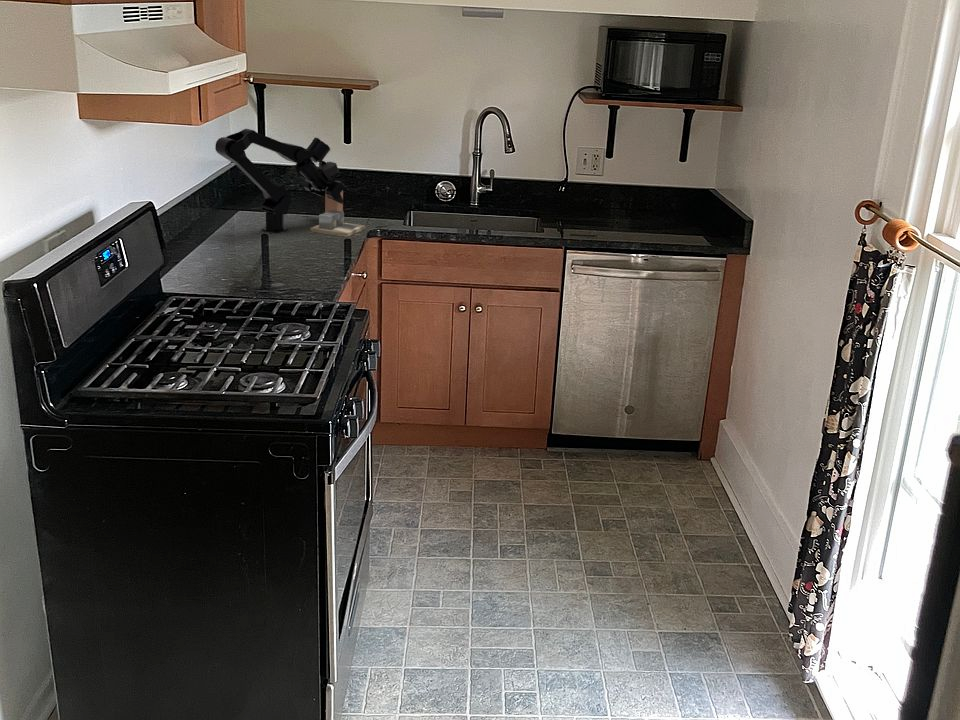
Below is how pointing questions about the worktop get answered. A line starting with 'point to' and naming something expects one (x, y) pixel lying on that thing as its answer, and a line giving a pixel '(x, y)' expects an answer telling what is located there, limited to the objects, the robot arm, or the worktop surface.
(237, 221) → the worktop surface
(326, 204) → the terracotta block
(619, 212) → the worktop surface
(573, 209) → the worktop surface
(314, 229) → the maple board
